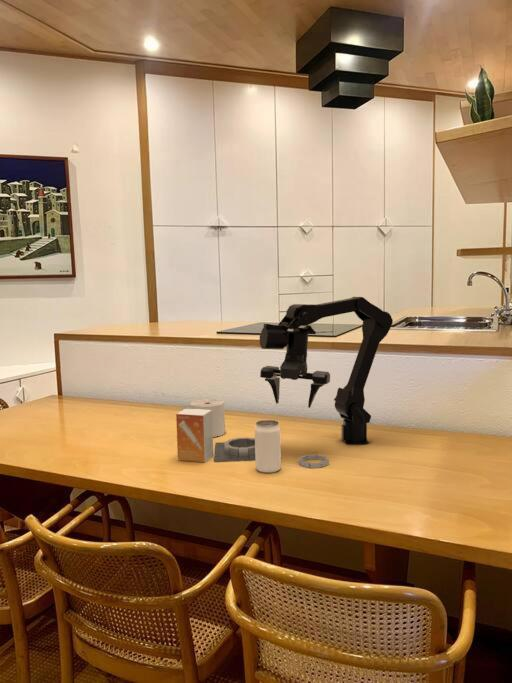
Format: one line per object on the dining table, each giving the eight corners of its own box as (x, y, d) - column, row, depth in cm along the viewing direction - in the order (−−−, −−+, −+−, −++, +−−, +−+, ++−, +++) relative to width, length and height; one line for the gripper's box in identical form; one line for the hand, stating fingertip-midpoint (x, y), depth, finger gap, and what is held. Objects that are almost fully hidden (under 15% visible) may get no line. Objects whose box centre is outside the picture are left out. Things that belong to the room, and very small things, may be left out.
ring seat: (276, 441, 157) (275, 433, 157) (281, 459, 141) (281, 450, 141) (215, 443, 156) (215, 436, 156) (213, 462, 140) (213, 453, 140)
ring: (325, 457, 141) (325, 453, 141) (330, 467, 134) (330, 463, 134) (297, 458, 141) (297, 455, 141) (301, 468, 134) (300, 464, 133)
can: (271, 475, 129) (270, 427, 128) (250, 470, 133) (249, 423, 132) (286, 467, 135) (285, 421, 133) (265, 463, 138) (264, 418, 137)
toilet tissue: (232, 432, 168) (231, 401, 167) (204, 441, 159) (202, 409, 158) (209, 427, 175) (208, 397, 174) (181, 435, 166) (179, 404, 165)
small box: (177, 460, 142) (175, 413, 141) (187, 453, 148) (185, 407, 147) (205, 463, 140) (203, 415, 138) (214, 455, 146) (212, 409, 144)
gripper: (255, 348, 141) (252, 406, 142) (324, 355, 135) (320, 415, 137) (267, 346, 152) (264, 399, 153) (332, 352, 146) (328, 407, 147)
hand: (293, 405), depth 147 cm, fingers open, 9 cm apart
